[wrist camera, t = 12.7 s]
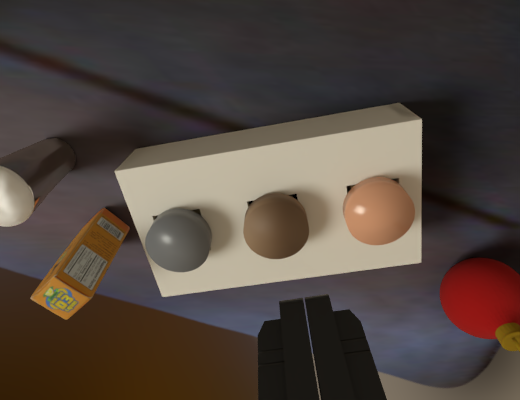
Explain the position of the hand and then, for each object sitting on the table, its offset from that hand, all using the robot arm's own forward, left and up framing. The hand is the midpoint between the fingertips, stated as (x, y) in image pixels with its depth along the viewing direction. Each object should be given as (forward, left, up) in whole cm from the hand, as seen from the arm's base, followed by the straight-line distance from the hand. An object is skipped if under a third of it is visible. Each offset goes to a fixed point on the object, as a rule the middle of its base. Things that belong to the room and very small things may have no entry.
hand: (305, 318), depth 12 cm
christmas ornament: (+15, -18, -22) cm, 32 cm away
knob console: (-2, -6, -22) cm, 23 cm away
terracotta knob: (+6, -6, -21) cm, 23 cm away
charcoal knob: (-9, -6, -21) cm, 24 cm away
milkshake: (-20, +1, -22) cm, 30 cm away
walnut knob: (-2, -6, -21) cm, 22 cm away
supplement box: (-18, -7, -22) cm, 29 cm away
